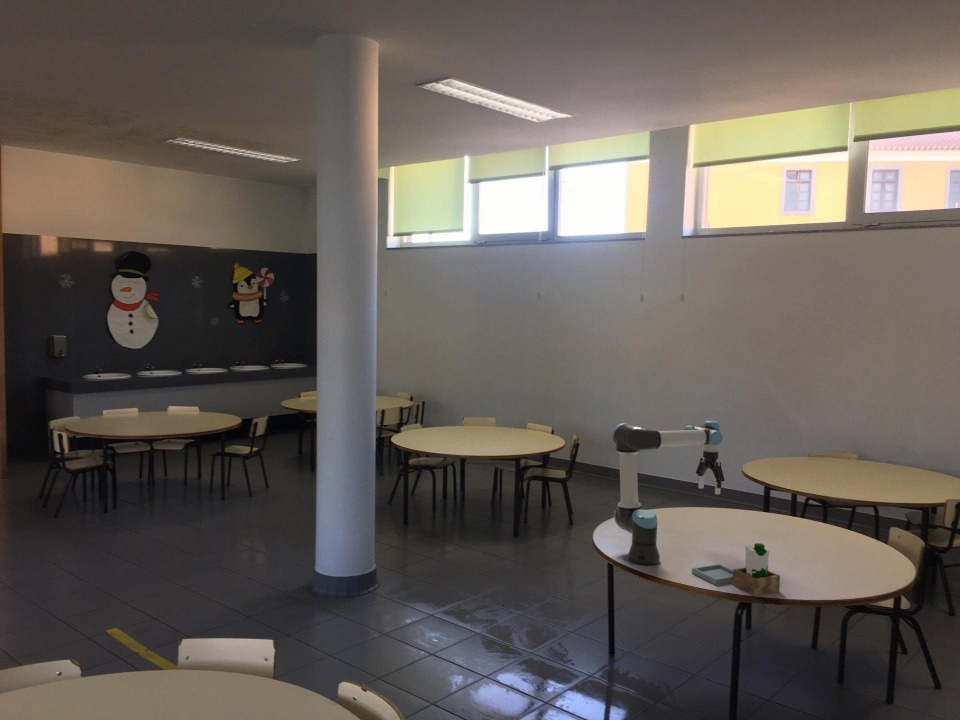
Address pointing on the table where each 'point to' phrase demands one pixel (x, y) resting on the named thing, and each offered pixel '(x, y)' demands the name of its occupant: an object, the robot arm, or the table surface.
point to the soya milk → (756, 560)
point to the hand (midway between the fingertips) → (709, 491)
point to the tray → (714, 574)
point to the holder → (756, 582)
